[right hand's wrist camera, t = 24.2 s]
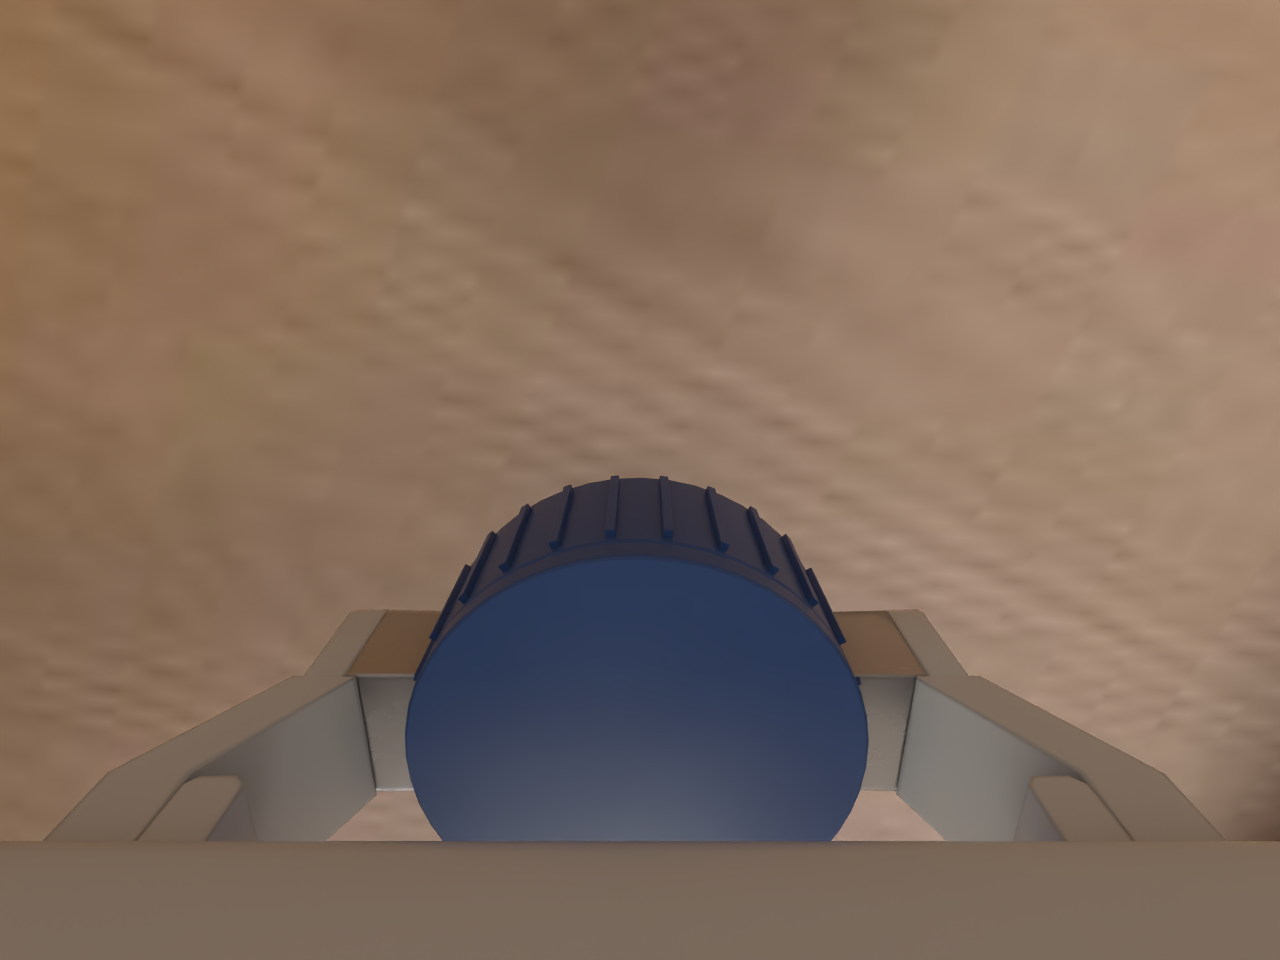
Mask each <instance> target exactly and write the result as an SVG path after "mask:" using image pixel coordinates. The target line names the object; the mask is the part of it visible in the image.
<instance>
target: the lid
mask: <svg viewBox="0 0 1280 960" xmlns="http://www.w3.org/2000/svg"><path fill="white" fill-rule="evenodd" d="M429 639H431V641H430V643H429V645H428V647H427V649H426V651H425V654H424V656H423V658H422V660H421V662H420V664H419V666H418V668H417V670H416V672H415V674H414V678H413V681H416V682H415V685H414V688H413V692H412V695H411V698H410V701H409V705H408V710H407V717H406V725H405V752H406V760H407V765H408V770H409V775H410V780H411V783H412V786H413V788H414V791H415V794H416V797H417V799H418V802H419V804H420V806H421V808H422V810H423V811H424V813H425V815H426V817H427V819H428V820H429V822H430V824H431V825H432V827H433V828H434V829H435V831H436V832H437V833H438V835H439V836H440V837H441V839H442V840H443V841H831V840H832V839H833V838H834V837H835V835H836V834H837V833H838V831H839V830H840V828H841V827H842V825H843V823H844V822H845V820H846V819H847V817H848V815H849V814H850V812H851V810H852V808H853V805H854V803H855V801H856V799H857V796H858V794H859V792H860V789H861V785H862V781H863V777H864V774H865V770H866V765H867V755H868V745H869V736H868V722H867V714H866V710H865V706H864V701H863V697H862V693H861V690H860V688H859V685H861V680H860V677H855V676H854V674H853V671H852V669H851V667H850V665H849V663H848V660H847V658H846V656H845V654H844V652H843V649H842V647H841V645H842V644H844V643H846V642H847V641H846V639H845V637H844V635H843V633H842V631H841V629H840V627H839V624H838V622H837V620H836V618H835V616H834V614H833V612H832V610H831V608H830V606H829V603H828V601H827V599H826V597H825V595H824V593H823V591H822V589H821V587H820V585H819V582H818V580H817V578H816V576H815V574H814V572H813V570H812V568H809V569H807V570H805V568H804V566H803V565H802V563H801V561H800V559H799V557H798V555H797V553H796V551H795V548H794V546H793V544H792V542H791V539H790V538H789V537H788V536H787V535H786V534H785V535H784V536H782V537H781V535H780V534H778V533H777V532H776V531H775V530H774V529H773V528H772V527H771V526H769V525H768V524H767V523H766V522H765V521H764V520H763V519H761V518H760V517H759V515H758V512H757V510H756V509H754V508H753V507H751V506H750V507H749V509H747V508H745V507H744V506H742V505H740V504H738V503H736V502H734V501H732V500H730V499H728V498H726V497H724V496H722V495H720V494H717V493H716V491H715V488H712V487H709V486H708V487H707V489H703V488H700V487H697V486H694V485H689V484H685V483H680V482H675V481H670V480H668V477H665V476H660V479H649V478H627V479H619V476H611V480H606V481H600V482H594V483H588V484H585V485H582V486H578V487H575V488H572V486H571V485H568V486H565V487H564V488H563V491H562V492H560V493H558V494H555V495H553V496H551V497H548V498H546V499H544V500H542V501H540V502H538V503H537V504H535V505H533V506H532V507H530V506H529V505H528V504H526V505H525V506H523V507H522V508H521V510H520V513H519V515H517V516H516V517H515V518H514V519H512V520H511V521H510V522H509V523H507V524H506V525H505V526H504V527H503V528H501V529H500V530H499V531H498V532H497V534H495V533H494V532H493V531H491V532H490V533H489V534H488V535H487V537H486V540H485V542H484V544H483V546H482V548H481V550H480V552H479V554H478V556H477V558H476V559H475V561H474V562H473V564H472V566H471V567H470V566H468V565H465V566H464V568H463V570H462V572H461V574H460V576H459V578H458V580H457V582H456V584H455V586H454V588H453V590H452V592H451V594H450V596H449V598H448V600H447V602H446V604H445V606H444V608H443V610H442V612H441V614H440V616H439V618H438V620H437V622H436V624H435V626H434V628H433V630H432V632H431V634H430V636H429Z"/></svg>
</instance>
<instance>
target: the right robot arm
mask: <svg viewBox="0 0 1280 960" xmlns="http://www.w3.org/2000/svg"><path fill="white" fill-rule="evenodd" d="M441 612H442V611H409V610H391V611H389V610H356V611H353V612H350V614H349V615H348V616H347V617H346V619H345V620H344V621H343V623H342V624H341V626H340V627H339V628H338V630H337V631H336V633H335V634H334V635H333V637H332V638H331V639H330V641H329V642H328V644H327V645H326V646H325V648H324V649H323V650H322V652H321V653H320V655H319V656H318V657H317V659H316V660H315V661H314V663H313V664H312V666H311V667H310V668H309V670H308V671H307V672H306V674H305V675H304V676H292V677H290V678H288V679H286V680H285V681H283V682H281V683H279V684H277V685H275V686H273V687H271V688H269V689H267V690H265V691H263V692H261V693H260V694H258V695H256V696H254V697H252V698H250V699H248V700H246V701H244V702H242V703H240V704H238V705H237V706H235V707H233V708H231V709H229V710H227V711H225V712H223V713H221V714H219V715H217V716H215V717H214V718H212V719H210V720H208V721H206V722H204V723H202V724H200V725H198V726H196V727H194V728H192V729H190V730H189V731H187V732H185V733H183V734H181V735H179V736H177V737H175V738H173V739H171V740H169V741H167V742H166V743H164V744H162V745H160V746H158V747H156V748H154V749H152V750H150V751H148V752H146V753H144V754H142V755H141V756H139V757H137V758H135V759H133V760H131V761H129V762H127V763H125V764H123V765H121V766H119V767H118V768H116V769H114V770H112V771H110V772H108V773H107V774H106V775H105V776H104V777H103V778H102V779H101V780H100V781H99V782H98V783H97V784H96V785H95V787H94V788H93V789H92V790H91V791H90V792H89V793H88V794H87V795H86V796H85V797H84V798H83V799H82V800H81V801H80V802H79V803H78V804H77V805H76V807H75V808H74V809H73V810H72V811H71V812H70V813H69V814H68V815H67V816H66V817H65V818H64V819H63V820H62V821H61V822H60V823H59V824H58V826H57V827H56V828H55V829H54V830H53V831H52V832H51V833H50V834H49V835H48V836H47V837H46V838H45V839H44V840H43V841H0V960H1280V841H1226V840H1225V839H1224V838H1223V836H1222V835H1221V834H1220V833H1219V832H1218V831H1217V830H1216V829H1215V828H1214V827H1213V826H1212V825H1211V823H1210V822H1209V821H1208V820H1207V819H1206V818H1205V817H1204V816H1203V815H1202V814H1201V813H1200V812H1199V811H1198V809H1197V808H1196V807H1195V806H1194V805H1193V804H1192V803H1191V802H1190V801H1189V800H1188V799H1187V798H1186V796H1185V795H1184V794H1183V793H1182V792H1181V791H1180V790H1179V789H1178V788H1177V787H1176V786H1175V785H1174V784H1173V782H1172V781H1171V780H1170V779H1169V778H1168V777H1167V776H1166V775H1165V774H1164V773H1162V772H1160V771H1158V770H1156V769H1155V768H1153V767H1151V766H1149V765H1147V764H1145V763H1143V762H1141V761H1139V760H1137V759H1136V758H1134V757H1132V756H1130V755H1128V754H1126V753H1124V752H1122V751H1120V750H1119V749H1117V748H1115V747H1113V746H1111V745H1109V744H1107V743H1105V742H1103V741H1101V740H1100V739H1098V738H1096V737H1094V736H1092V735H1090V734H1088V733H1086V732H1084V731H1083V730H1081V729H1079V728H1077V727H1075V726H1073V725H1071V724H1069V723H1067V722H1065V721H1064V720H1062V719H1060V718H1058V717H1056V716H1054V715H1052V714H1050V713H1048V712H1047V711H1045V710H1043V709H1041V708H1039V707H1037V706H1035V705H1033V704H1031V703H1029V702H1028V701H1026V700H1024V699H1022V698H1020V697H1018V696H1016V695H1014V694H1012V693H1011V692H1009V691H1007V690H1005V689H1003V688H1001V687H999V686H997V685H995V684H993V683H992V682H990V681H988V680H986V679H984V678H982V677H980V676H968V675H967V673H966V672H965V670H964V669H963V668H962V666H961V665H960V663H959V662H958V661H957V659H956V658H955V656H954V655H953V654H952V652H951V651H950V649H949V648H948V647H947V645H946V644H945V642H944V641H943V640H942V638H941V637H940V635H939V634H938V633H937V631H936V630H935V629H934V627H933V626H932V624H931V623H930V622H929V620H928V619H927V617H926V616H925V615H924V613H923V612H921V611H919V610H917V609H914V610H888V611H852V612H833V614H834V616H835V618H836V620H837V622H838V624H839V627H840V629H841V631H842V633H843V635H844V637H845V639H846V641H847V642H846V643H844V644H842V645H841V647H842V649H843V652H844V654H845V656H846V658H847V660H848V663H849V665H850V667H851V669H852V671H853V674H854V676H855V677H860V680H861V685H859V688H860V690H861V693H862V697H863V701H864V706H865V710H866V714H867V722H868V736H869V745H868V755H867V765H866V770H865V774H864V777H863V781H862V785H861V789H860V790H875V791H897V793H896V794H897V795H898V796H899V797H900V798H901V799H902V800H903V801H904V802H905V803H907V804H908V805H909V806H910V807H911V808H912V809H913V810H914V811H915V812H916V813H917V814H918V815H919V816H921V817H922V818H923V819H924V820H925V821H926V822H927V823H928V824H929V825H930V826H931V827H932V828H933V829H935V830H936V831H937V832H938V833H939V834H940V835H941V836H942V837H943V838H944V839H945V840H946V841H326V840H327V839H329V838H330V837H331V836H332V835H333V834H334V833H335V832H336V831H337V830H338V829H339V828H341V827H342V826H343V825H344V824H345V823H346V822H347V821H348V820H349V819H350V818H351V817H353V816H354V815H355V814H356V813H357V812H358V811H359V810H360V809H361V808H362V807H363V806H365V805H366V804H367V803H368V802H369V801H370V800H371V799H372V798H373V797H374V796H375V795H376V791H397V790H414V788H413V786H412V783H411V780H410V775H409V770H408V765H407V760H406V752H405V725H406V717H407V710H408V705H409V701H410V698H411V695H412V692H413V688H414V685H415V682H416V681H413V678H414V674H415V672H416V670H417V668H418V666H419V664H420V662H421V660H422V658H423V656H424V654H425V651H426V649H427V647H428V645H429V643H430V641H431V639H429V636H430V634H431V632H432V630H433V628H434V626H435V624H436V622H437V620H438V618H439V616H440V614H441Z"/></svg>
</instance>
